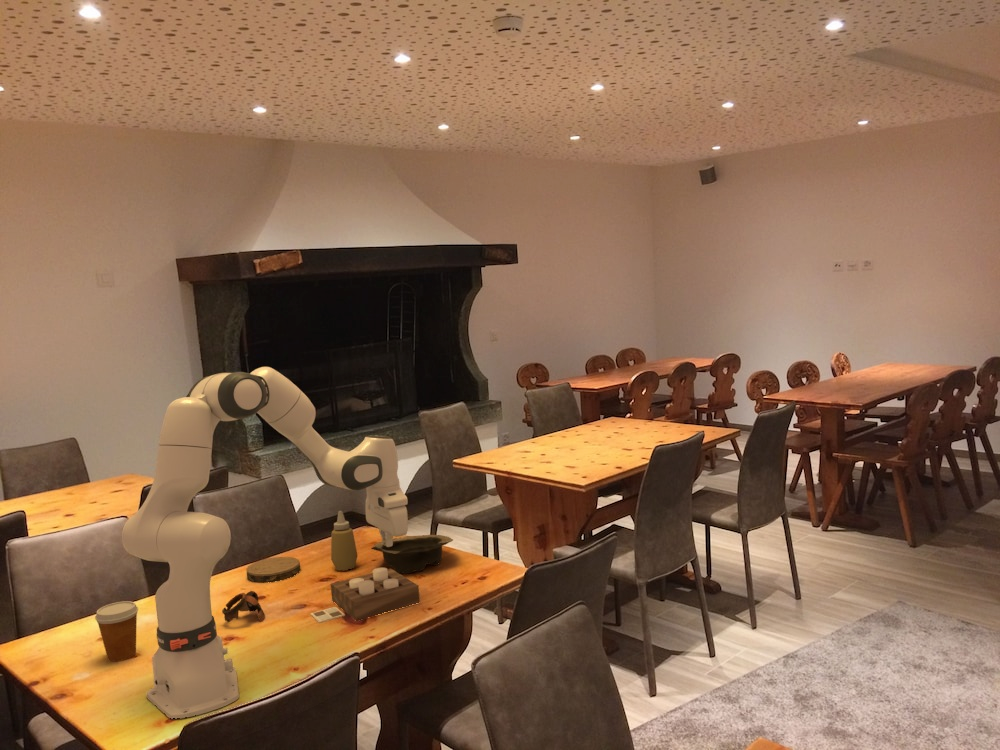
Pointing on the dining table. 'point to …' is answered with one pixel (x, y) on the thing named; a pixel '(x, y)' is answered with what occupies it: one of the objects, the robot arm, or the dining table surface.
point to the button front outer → (390, 583)
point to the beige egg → (380, 574)
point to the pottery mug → (243, 606)
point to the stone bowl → (413, 552)
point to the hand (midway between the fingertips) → (387, 545)
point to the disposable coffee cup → (118, 629)
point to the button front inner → (366, 587)
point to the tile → (327, 614)
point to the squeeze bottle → (343, 545)
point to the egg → (355, 582)
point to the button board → (374, 596)
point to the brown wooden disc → (273, 569)
